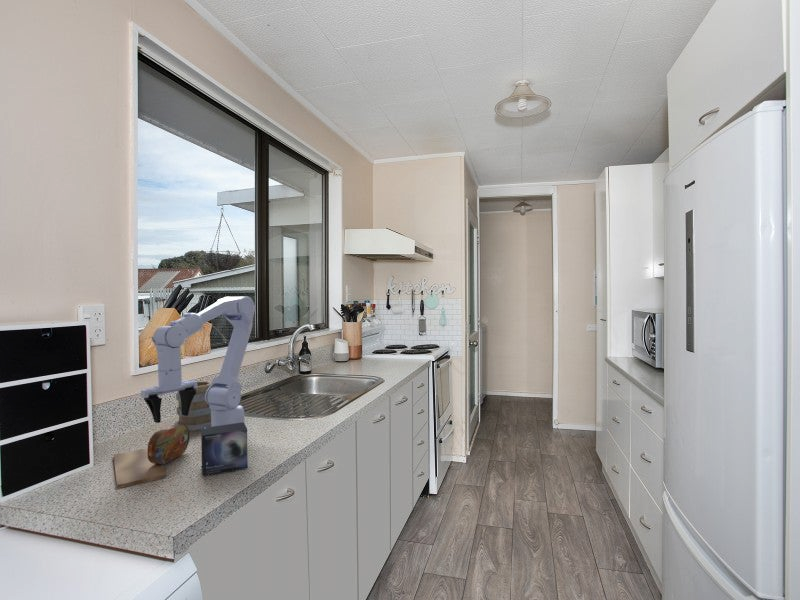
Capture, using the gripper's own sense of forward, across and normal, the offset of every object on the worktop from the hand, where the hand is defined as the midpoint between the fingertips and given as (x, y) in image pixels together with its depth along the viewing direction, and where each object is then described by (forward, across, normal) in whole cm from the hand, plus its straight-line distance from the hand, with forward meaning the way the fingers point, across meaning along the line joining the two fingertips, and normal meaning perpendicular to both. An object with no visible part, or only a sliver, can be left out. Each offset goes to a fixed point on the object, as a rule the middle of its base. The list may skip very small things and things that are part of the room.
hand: (171, 418), depth 123 cm
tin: (+10, +3, +3) cm, 11 cm away
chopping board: (+10, +9, 0) cm, 14 cm away
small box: (+10, -2, +21) cm, 23 cm away
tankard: (+11, -23, -21) cm, 33 cm away
